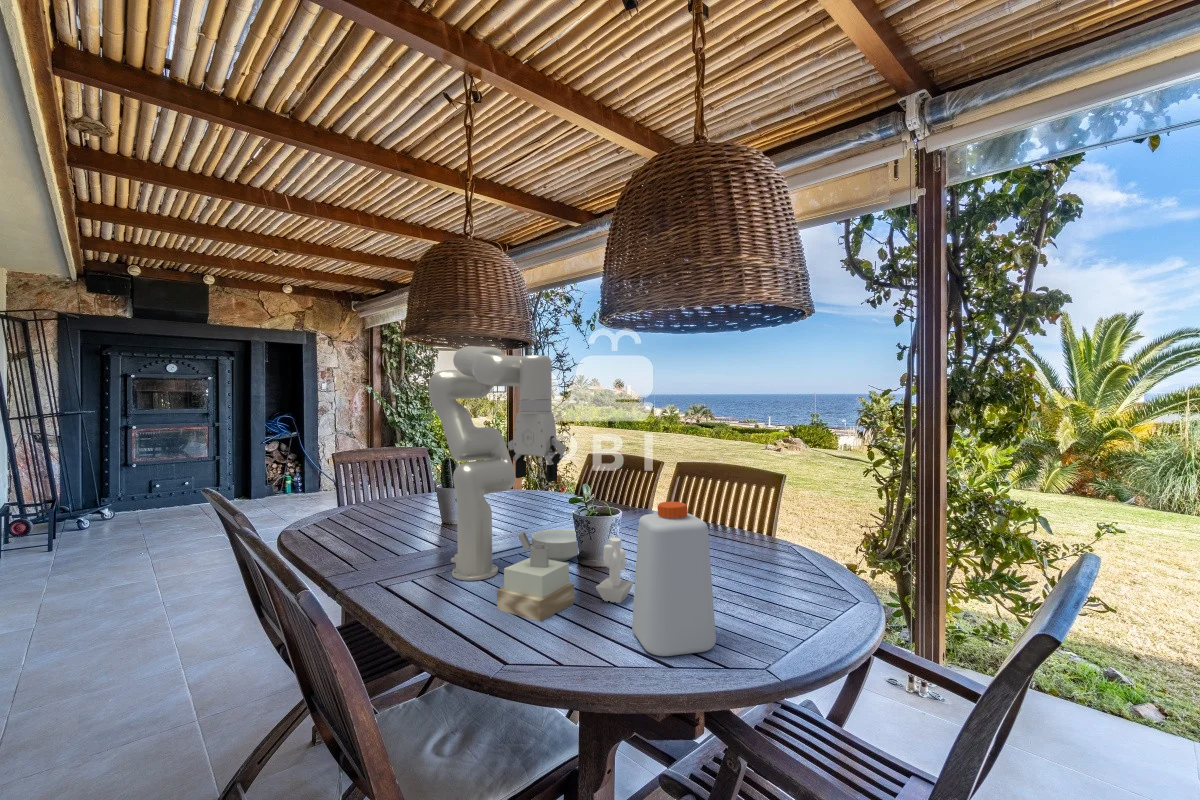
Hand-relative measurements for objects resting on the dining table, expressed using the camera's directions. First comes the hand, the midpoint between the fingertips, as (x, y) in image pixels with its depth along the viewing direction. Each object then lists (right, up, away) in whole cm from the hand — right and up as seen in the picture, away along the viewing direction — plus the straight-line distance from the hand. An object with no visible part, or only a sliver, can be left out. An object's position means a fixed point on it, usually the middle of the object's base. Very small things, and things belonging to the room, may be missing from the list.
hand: (536, 479), depth 132 cm
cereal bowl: (+3, -30, +39) cm, 49 cm away
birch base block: (0, -31, 0) cm, 31 cm away
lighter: (-1, -21, 0) cm, 21 cm away
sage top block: (0, -26, 0) cm, 26 cm away
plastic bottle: (+30, -31, -18) cm, 47 cm away
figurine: (+19, -30, +4) cm, 36 cm away
